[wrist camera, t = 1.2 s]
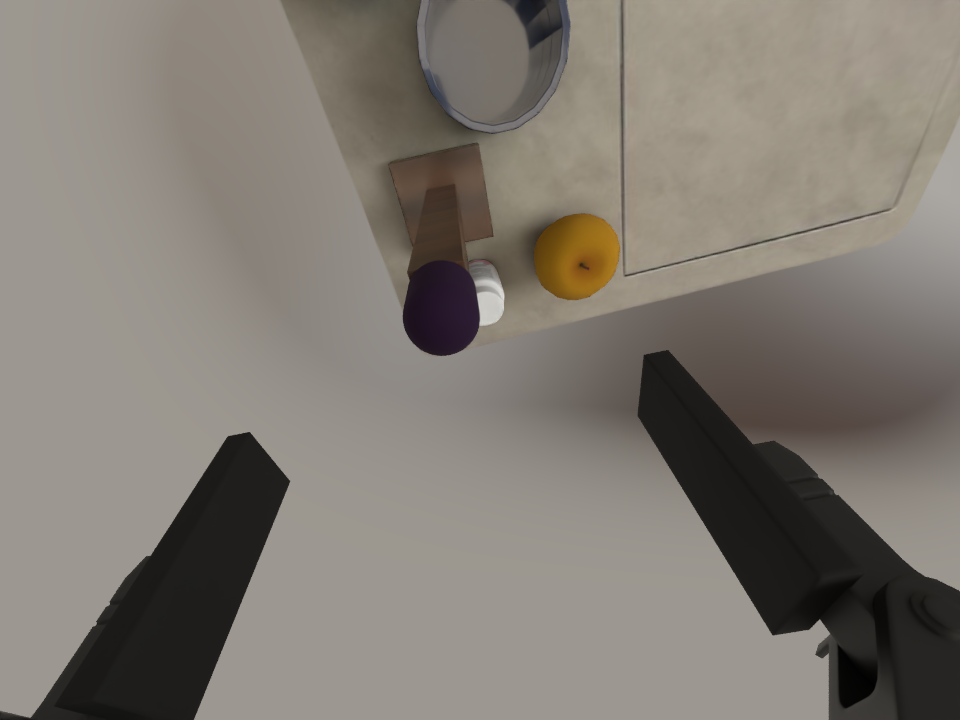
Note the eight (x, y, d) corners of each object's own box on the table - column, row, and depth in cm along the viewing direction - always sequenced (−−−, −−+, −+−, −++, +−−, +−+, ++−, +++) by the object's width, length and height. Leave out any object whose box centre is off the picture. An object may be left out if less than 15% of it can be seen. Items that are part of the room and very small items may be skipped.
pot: (405, -19, 29) (395, -49, 24) (543, -52, 29) (567, -92, 23) (439, 140, 36) (438, 146, 30) (552, 114, 35) (573, 116, 30)
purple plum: (399, 267, 18) (386, 308, 15) (468, 252, 18) (474, 290, 14) (419, 327, 20) (412, 377, 17) (481, 315, 20) (489, 362, 16)
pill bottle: (451, 279, 44) (452, 311, 37) (477, 250, 42) (483, 278, 35) (480, 302, 46) (486, 336, 39) (506, 275, 44) (517, 306, 37)
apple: (580, 287, 46) (606, 321, 39) (514, 270, 44) (528, 302, 37) (614, 215, 41) (650, 238, 34) (541, 193, 39) (563, 212, 32)
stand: (390, 162, 37) (325, 224, 17) (477, 142, 36) (514, 183, 17) (415, 248, 42) (388, 374, 22) (492, 232, 41) (533, 345, 22)
